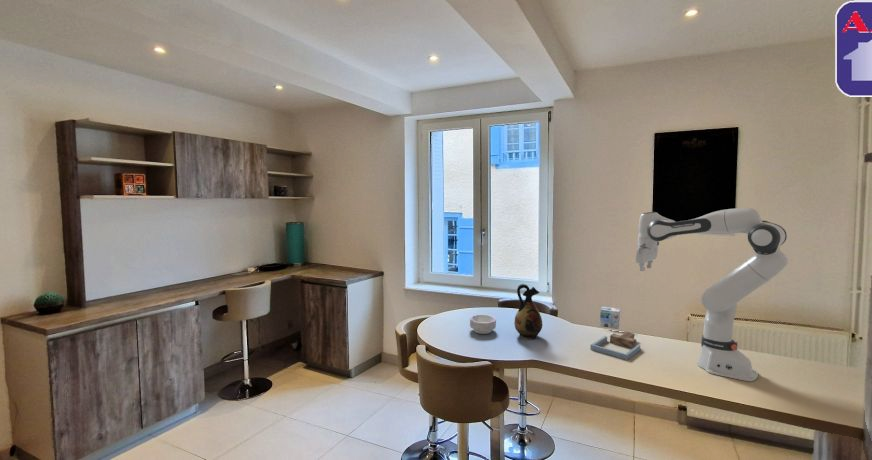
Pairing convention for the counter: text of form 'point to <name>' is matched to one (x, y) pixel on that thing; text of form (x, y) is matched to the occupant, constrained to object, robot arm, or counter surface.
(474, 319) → the white stone bowl
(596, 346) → the docking bay
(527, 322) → the ceramic jug
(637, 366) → the counter surface
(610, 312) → the light bulb box
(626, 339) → the walnut T block
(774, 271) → the robot arm
